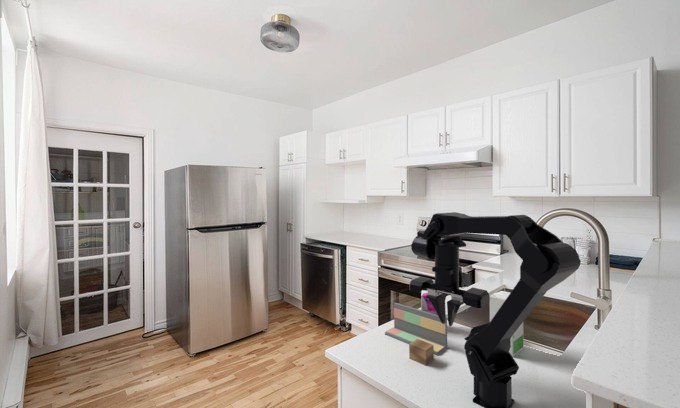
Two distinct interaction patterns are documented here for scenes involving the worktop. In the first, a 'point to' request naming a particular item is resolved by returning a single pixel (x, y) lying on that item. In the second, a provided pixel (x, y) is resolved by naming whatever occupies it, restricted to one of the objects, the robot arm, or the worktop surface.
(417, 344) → the block
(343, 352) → the worktop surface
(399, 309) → the tuner gauge
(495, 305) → the skincare box
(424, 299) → the supplement box
